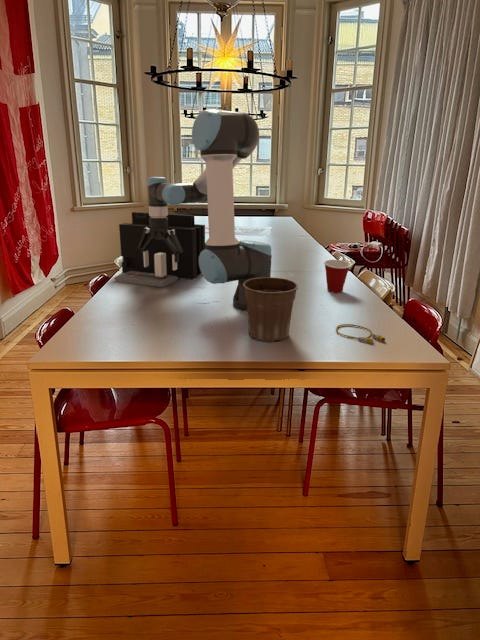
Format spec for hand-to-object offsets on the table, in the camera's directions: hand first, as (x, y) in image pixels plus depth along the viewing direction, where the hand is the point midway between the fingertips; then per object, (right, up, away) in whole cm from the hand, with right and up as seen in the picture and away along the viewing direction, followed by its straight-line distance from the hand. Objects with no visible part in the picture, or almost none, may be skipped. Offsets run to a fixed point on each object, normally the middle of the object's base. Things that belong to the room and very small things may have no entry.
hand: (160, 268), depth 195 cm
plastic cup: (+72, -10, -6) cm, 73 cm away
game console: (+1, +2, +26) cm, 26 cm away
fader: (0, -4, +1) cm, 4 cm away
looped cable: (+70, -27, -51) cm, 91 cm away
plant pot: (+42, -27, -53) cm, 73 cm away
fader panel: (-7, -5, +4) cm, 9 cm away
